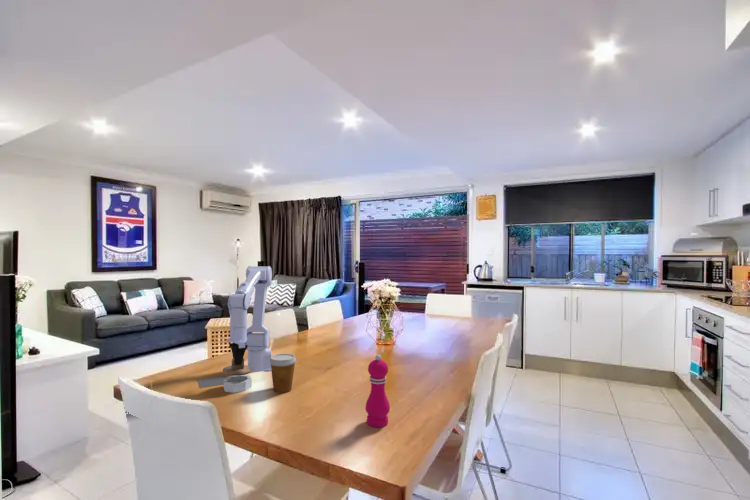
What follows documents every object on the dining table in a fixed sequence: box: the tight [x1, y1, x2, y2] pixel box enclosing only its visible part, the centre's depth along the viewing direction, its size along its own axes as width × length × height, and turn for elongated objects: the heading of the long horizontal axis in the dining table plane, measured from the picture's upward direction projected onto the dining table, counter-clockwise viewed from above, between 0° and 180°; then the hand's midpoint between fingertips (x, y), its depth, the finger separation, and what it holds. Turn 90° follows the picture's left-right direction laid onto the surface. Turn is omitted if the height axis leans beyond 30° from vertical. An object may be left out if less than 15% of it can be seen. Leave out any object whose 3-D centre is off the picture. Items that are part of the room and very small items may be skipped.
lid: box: [222, 357, 252, 377], centre depth 134 cm, size 10×10×4 cm
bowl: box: [223, 374, 253, 394], centre depth 134 cm, size 9×9×4 cm
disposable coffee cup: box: [269, 353, 297, 394], centre depth 134 cm, size 10×10×12 cm
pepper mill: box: [365, 354, 391, 428], centre depth 109 cm, size 7×7×20 cm
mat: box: [197, 375, 227, 389], centre depth 140 cm, size 10×10×1 cm
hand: (237, 363), depth 135 cm, fingers closed on lid, 2 cm apart
